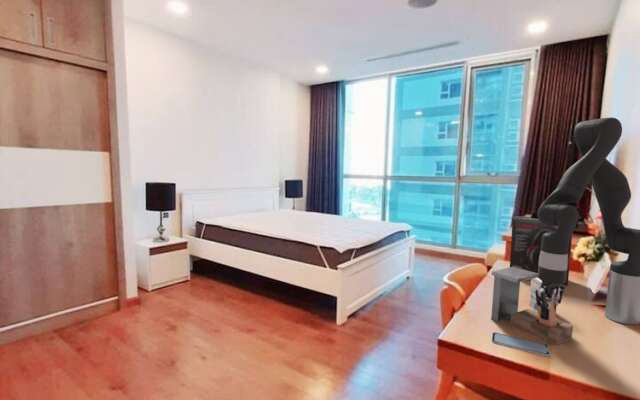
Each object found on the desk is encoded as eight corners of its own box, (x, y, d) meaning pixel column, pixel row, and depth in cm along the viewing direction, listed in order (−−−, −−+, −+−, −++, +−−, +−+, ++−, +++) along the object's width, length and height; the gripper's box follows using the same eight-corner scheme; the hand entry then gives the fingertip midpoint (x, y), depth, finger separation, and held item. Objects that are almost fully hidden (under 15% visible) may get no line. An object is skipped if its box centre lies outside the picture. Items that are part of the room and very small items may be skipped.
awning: (509, 311, 125) (513, 266, 123) (534, 321, 117) (538, 273, 115) (488, 318, 118) (491, 271, 117) (513, 329, 111) (517, 279, 109)
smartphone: (492, 331, 108) (548, 344, 101) (492, 334, 108) (547, 346, 101) (491, 341, 102) (550, 355, 94) (491, 344, 102) (550, 358, 94)
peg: (557, 332, 106) (553, 297, 107) (552, 334, 105) (547, 299, 106) (546, 330, 109) (541, 296, 110) (540, 332, 108) (535, 297, 109)
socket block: (526, 319, 118) (527, 308, 118) (571, 337, 106) (572, 325, 106) (510, 325, 113) (511, 314, 113) (555, 345, 101) (556, 332, 101)
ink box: (552, 313, 123) (555, 283, 122) (537, 312, 124) (540, 282, 123) (542, 304, 132) (544, 275, 131) (528, 303, 133) (530, 274, 132)
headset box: (507, 275, 168) (512, 210, 165) (510, 269, 178) (515, 208, 175) (568, 286, 153) (575, 215, 150) (567, 279, 163) (574, 213, 160)
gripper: (554, 272, 99) (548, 327, 101) (577, 266, 106) (571, 318, 108) (528, 265, 105) (523, 317, 107) (551, 260, 112) (546, 309, 114)
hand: (547, 317), depth 107 cm, fingers closed on peg, 3 cm apart
